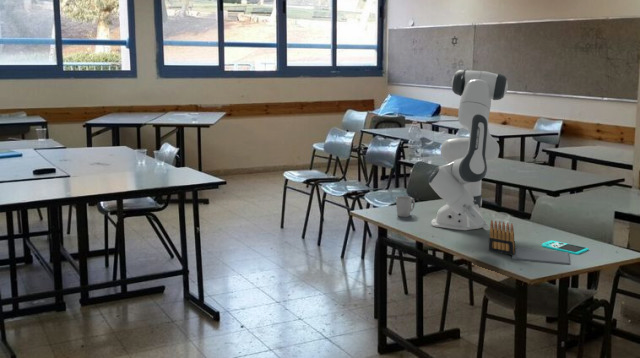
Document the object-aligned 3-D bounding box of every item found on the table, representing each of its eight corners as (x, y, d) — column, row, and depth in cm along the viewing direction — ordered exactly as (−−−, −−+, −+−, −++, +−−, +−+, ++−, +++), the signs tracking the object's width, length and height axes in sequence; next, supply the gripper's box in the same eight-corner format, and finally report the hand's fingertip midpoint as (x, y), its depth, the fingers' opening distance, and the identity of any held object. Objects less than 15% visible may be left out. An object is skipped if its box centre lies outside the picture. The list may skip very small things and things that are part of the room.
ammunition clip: (488, 250, 260) (488, 220, 258) (491, 249, 261) (491, 219, 259) (513, 255, 252) (512, 223, 250) (515, 254, 254) (515, 222, 252)
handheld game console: (551, 242, 274) (551, 239, 273) (589, 251, 262) (589, 247, 262) (538, 247, 267) (538, 244, 266) (577, 256, 255) (577, 252, 255)
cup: (392, 215, 316) (392, 197, 315) (408, 212, 321) (409, 195, 320) (402, 218, 310) (402, 200, 308) (419, 215, 315) (419, 197, 313)
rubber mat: (512, 259, 249) (512, 257, 249) (513, 249, 262) (513, 247, 262) (569, 264, 243) (569, 263, 243) (568, 253, 256) (568, 252, 256)
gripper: (473, 202, 244) (499, 229, 245) (463, 191, 264) (488, 216, 265) (460, 214, 245) (486, 241, 246) (452, 202, 265) (476, 227, 266)
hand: (487, 228), depth 256 cm, fingers closed
